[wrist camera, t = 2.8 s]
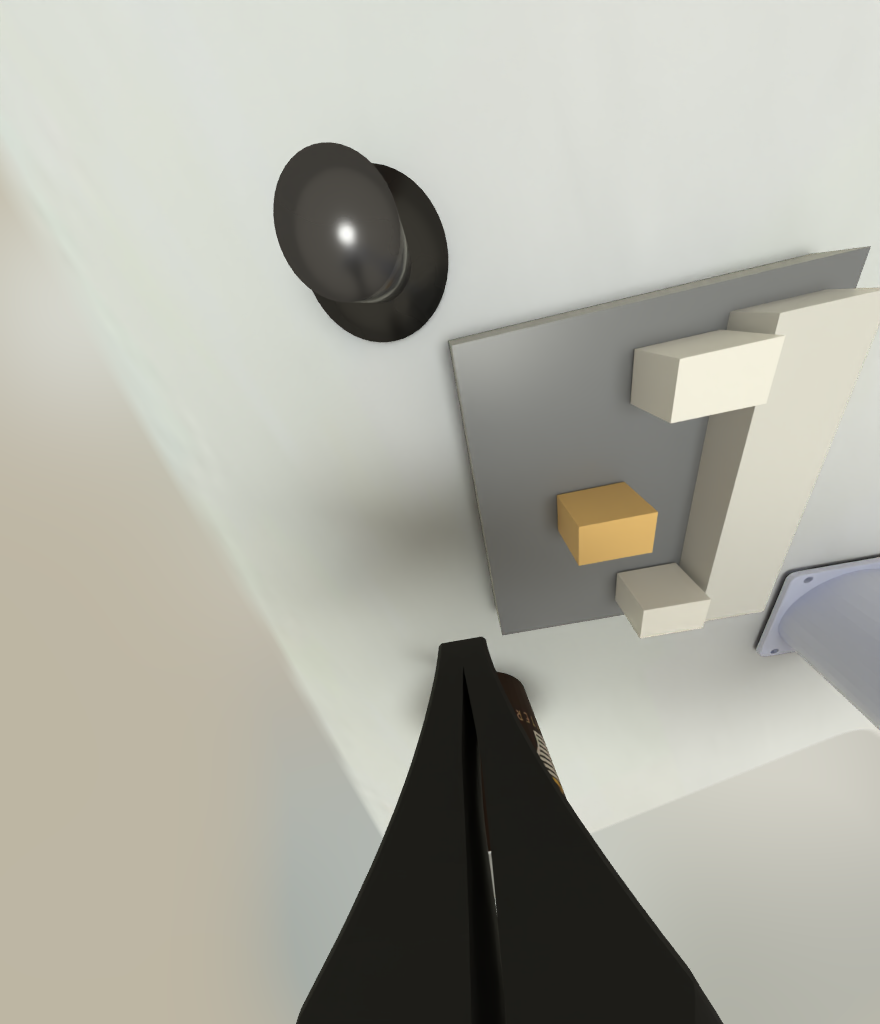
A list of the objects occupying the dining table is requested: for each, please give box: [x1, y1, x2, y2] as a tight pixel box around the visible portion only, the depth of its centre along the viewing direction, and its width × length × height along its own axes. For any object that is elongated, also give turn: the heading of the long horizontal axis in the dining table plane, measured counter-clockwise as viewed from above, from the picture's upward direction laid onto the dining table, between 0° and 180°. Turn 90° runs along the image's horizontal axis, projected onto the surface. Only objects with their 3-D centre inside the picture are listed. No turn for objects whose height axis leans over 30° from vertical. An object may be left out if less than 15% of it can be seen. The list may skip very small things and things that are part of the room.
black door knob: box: [274, 143, 448, 342], centre depth 10 cm, size 5×5×7 cm
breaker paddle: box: [557, 482, 658, 566], centre depth 15 cm, size 3×2×3 cm, turn 102°
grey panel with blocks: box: [448, 246, 880, 638], centre depth 16 cm, size 14×16×5 cm
